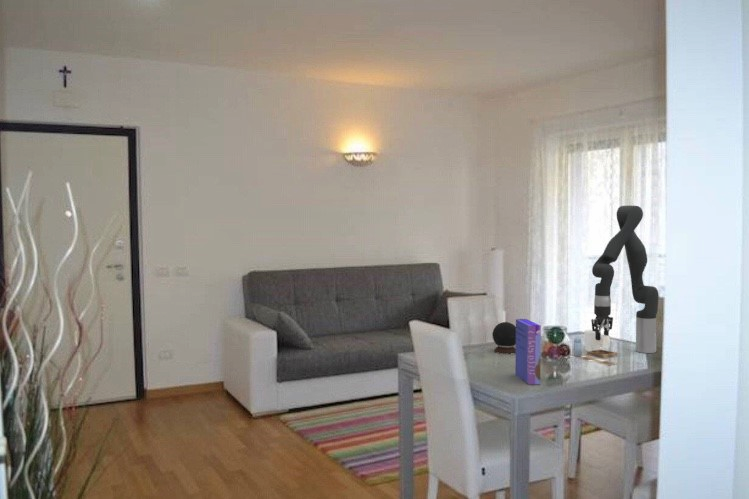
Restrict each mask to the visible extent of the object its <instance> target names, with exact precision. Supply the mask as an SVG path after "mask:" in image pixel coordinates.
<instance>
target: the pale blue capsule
mask: <svg viewBox="0 0 749 499" xmlns="http://www.w3.org/2000/svg"><path fill="white" fill-rule="evenodd" d="M582 348H583V347H582V339H581V337H580V336H576V337H575V338H574V339H573V355H574V357H582V356H583V355H582V351H583V350H582Z"/></svg>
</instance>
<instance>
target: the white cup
mask: <svg viewBox="0 0 749 499" xmlns="http://www.w3.org/2000/svg"><path fill="white" fill-rule="evenodd" d="M583 333H584V335H583V336H584V350H585V351H586V352H587V351H593V350H598V349H600V348H601V347H598V346H594V336H595V335H596V333H595V331H592V329H588V330H584V332H583ZM600 333H601V331H600ZM601 334H602V333H601ZM600 350H601V349H600Z"/></svg>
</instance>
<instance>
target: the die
mask: <svg viewBox="0 0 749 499" xmlns="http://www.w3.org/2000/svg"><path fill="white" fill-rule="evenodd" d="M595 336H596V335H595ZM595 336H594V346H598V347H600V348H607V347H610V344H611V342H610V341H611V340H610V338H611V336H610V335H609V336H607V335H604V334H602V333H601V337H600V340H596V338H595Z"/></svg>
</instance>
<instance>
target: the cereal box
mask: <svg viewBox="0 0 749 499" xmlns="http://www.w3.org/2000/svg"><path fill="white" fill-rule="evenodd" d="M515 327H516V344H515V348H516V353H515V369H514V370H515V372H514V373H515V374H514V375H515V376H516V377H517V378H519V379H520V380H522V381H523V382H524V383H525V384H527V386H540V385H541V367H542V366H541V365H542V364H541V360H542V358H541V354H542V352H541V350H542V349H541V348H542V346H541V345H542V344H541V342H542V341H541V340H542V337H541V336H542V332H541V331H542V325H541V324H538V323H536V322H533V321H532V320H530V319H527V318H516V319H515Z"/></svg>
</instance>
